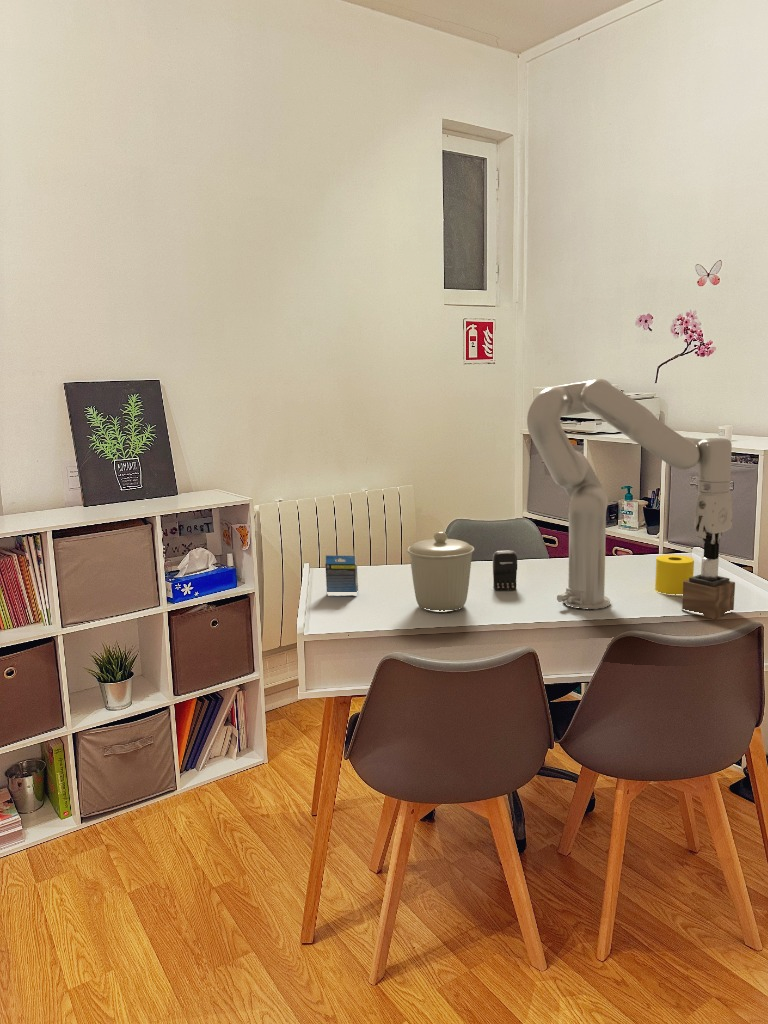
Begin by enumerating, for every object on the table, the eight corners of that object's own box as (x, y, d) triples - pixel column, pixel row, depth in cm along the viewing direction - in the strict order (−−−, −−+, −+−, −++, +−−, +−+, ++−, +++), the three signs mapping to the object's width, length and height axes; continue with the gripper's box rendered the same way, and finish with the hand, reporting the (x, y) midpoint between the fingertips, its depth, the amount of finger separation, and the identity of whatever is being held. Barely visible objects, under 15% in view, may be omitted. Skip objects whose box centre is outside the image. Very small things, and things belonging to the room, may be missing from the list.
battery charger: (494, 592, 231) (494, 553, 229) (492, 588, 234) (492, 550, 232) (518, 591, 231) (518, 552, 228) (516, 587, 234) (516, 549, 232)
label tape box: (358, 593, 233) (357, 552, 231) (356, 597, 229) (355, 555, 227) (329, 593, 234) (327, 552, 232) (326, 596, 230) (324, 555, 228)
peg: (711, 591, 204) (712, 560, 202) (697, 587, 207) (698, 557, 205) (720, 588, 206) (721, 558, 204) (706, 585, 209) (707, 555, 208)
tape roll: (696, 596, 221) (697, 563, 219) (658, 595, 223) (659, 562, 221) (688, 586, 231) (689, 554, 229) (652, 585, 232) (653, 554, 231)
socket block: (713, 619, 201) (715, 584, 200) (682, 611, 208) (683, 577, 207) (733, 612, 206) (735, 578, 205) (702, 604, 214) (703, 571, 212)
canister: (483, 601, 221) (483, 527, 218) (460, 620, 205) (460, 541, 202) (424, 595, 229) (422, 523, 225) (397, 613, 213) (395, 536, 210)
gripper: (710, 492, 194) (707, 565, 198) (744, 485, 203) (740, 555, 206) (683, 489, 200) (680, 560, 204) (717, 482, 209) (714, 551, 212)
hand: (711, 557), depth 205 cm, fingers closed
